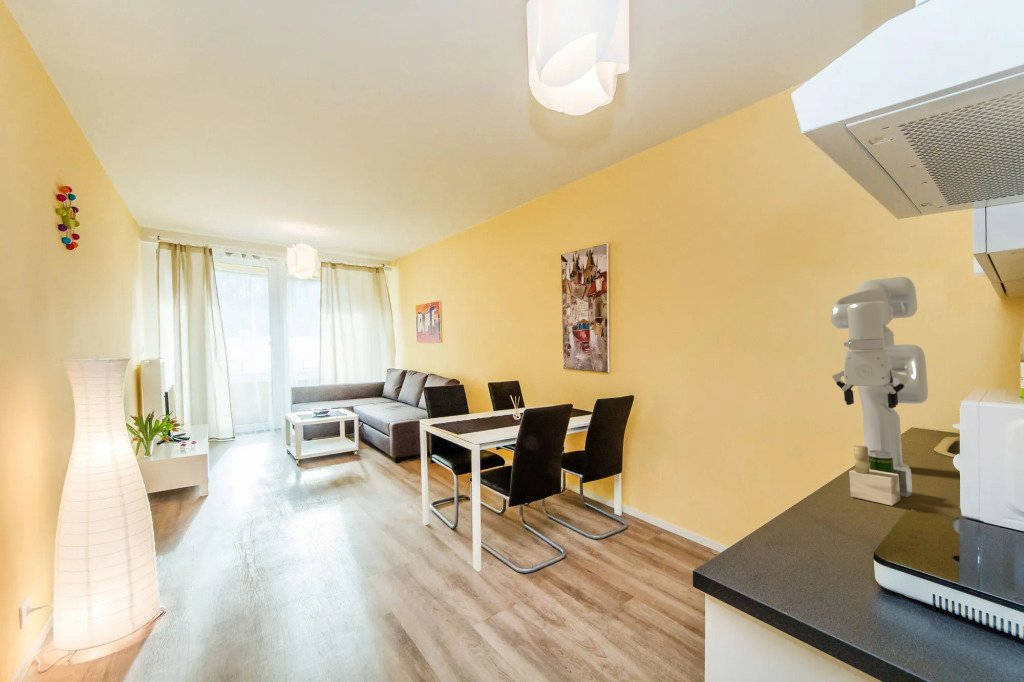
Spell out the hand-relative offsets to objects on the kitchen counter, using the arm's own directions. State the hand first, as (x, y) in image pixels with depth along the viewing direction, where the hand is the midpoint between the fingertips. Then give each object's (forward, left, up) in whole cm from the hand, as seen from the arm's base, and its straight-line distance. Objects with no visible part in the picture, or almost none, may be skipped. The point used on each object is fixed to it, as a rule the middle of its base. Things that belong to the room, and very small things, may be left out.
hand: (870, 405), depth 120 cm
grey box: (-3, +5, -25) cm, 26 cm away
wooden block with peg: (+4, -3, -25) cm, 26 cm away
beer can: (0, +2, -25) cm, 25 cm away
